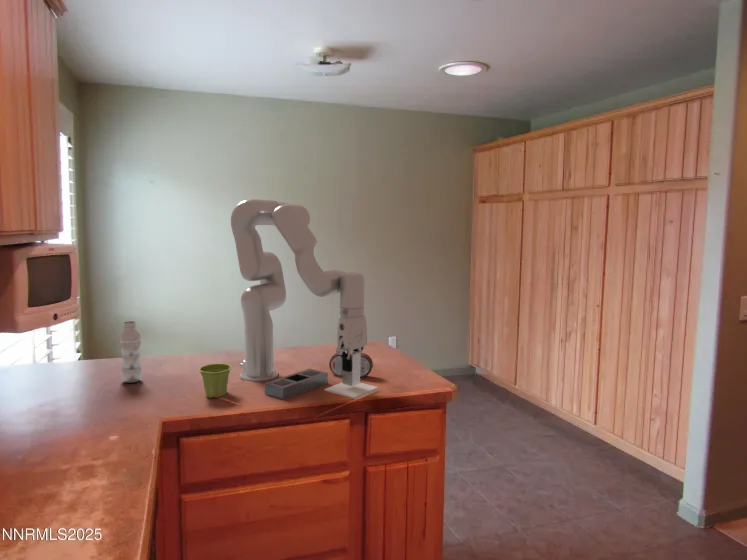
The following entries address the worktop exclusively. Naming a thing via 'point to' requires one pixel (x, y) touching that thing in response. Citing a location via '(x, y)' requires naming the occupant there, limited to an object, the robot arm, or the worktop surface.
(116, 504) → the worktop surface
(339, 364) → the tin
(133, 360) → the plastic bottle
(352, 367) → the steel block
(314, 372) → the grey compartment holder
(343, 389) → the pad
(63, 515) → the worktop surface
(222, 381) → the plant pot
